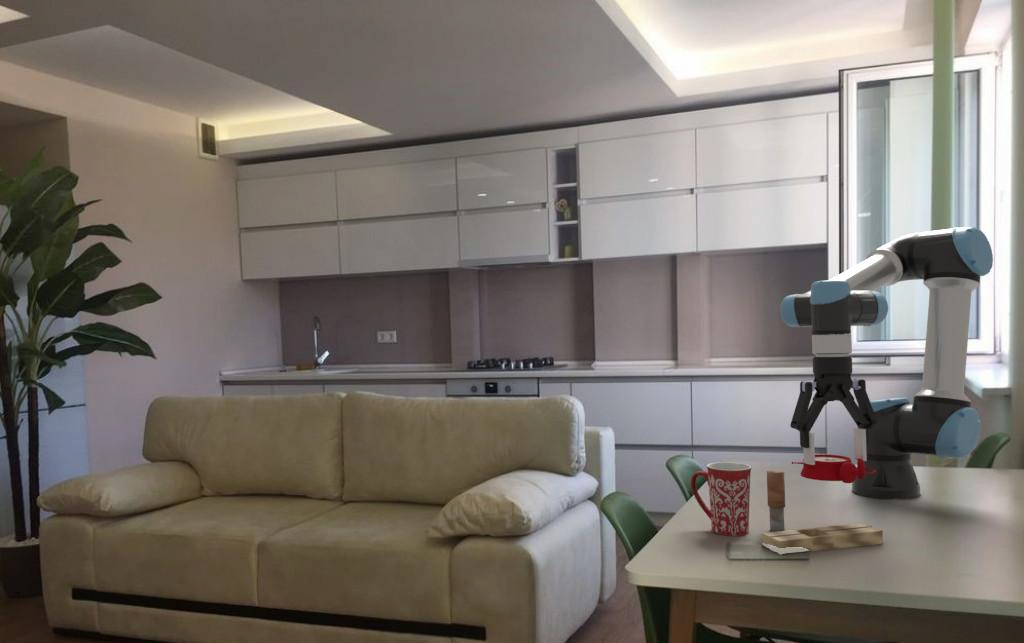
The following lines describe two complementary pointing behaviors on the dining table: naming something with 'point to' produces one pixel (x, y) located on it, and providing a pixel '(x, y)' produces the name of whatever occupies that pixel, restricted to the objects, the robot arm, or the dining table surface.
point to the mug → (726, 497)
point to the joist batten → (826, 537)
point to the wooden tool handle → (776, 499)
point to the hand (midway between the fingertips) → (835, 462)
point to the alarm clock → (834, 469)
